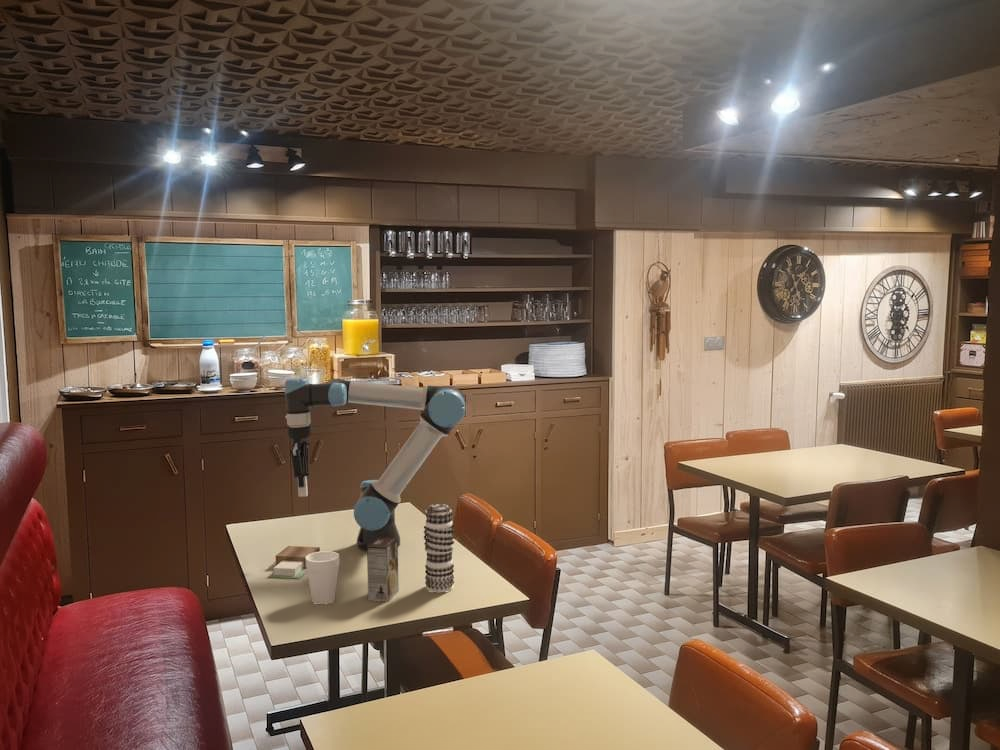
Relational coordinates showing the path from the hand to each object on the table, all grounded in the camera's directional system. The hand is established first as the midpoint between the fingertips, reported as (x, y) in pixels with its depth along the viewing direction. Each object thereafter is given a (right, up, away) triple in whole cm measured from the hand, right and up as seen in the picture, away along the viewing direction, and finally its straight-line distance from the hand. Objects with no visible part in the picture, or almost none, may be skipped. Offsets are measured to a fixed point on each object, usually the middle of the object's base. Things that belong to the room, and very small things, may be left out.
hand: (303, 495), depth 254 cm
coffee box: (+31, -25, -30) cm, 50 cm away
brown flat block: (-1, -22, -3) cm, 22 cm away
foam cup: (+15, -25, -34) cm, 44 cm away
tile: (-2, -22, -11) cm, 25 cm away
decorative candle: (+47, -24, -24) cm, 58 cm away
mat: (-1, -23, -12) cm, 26 cm away
